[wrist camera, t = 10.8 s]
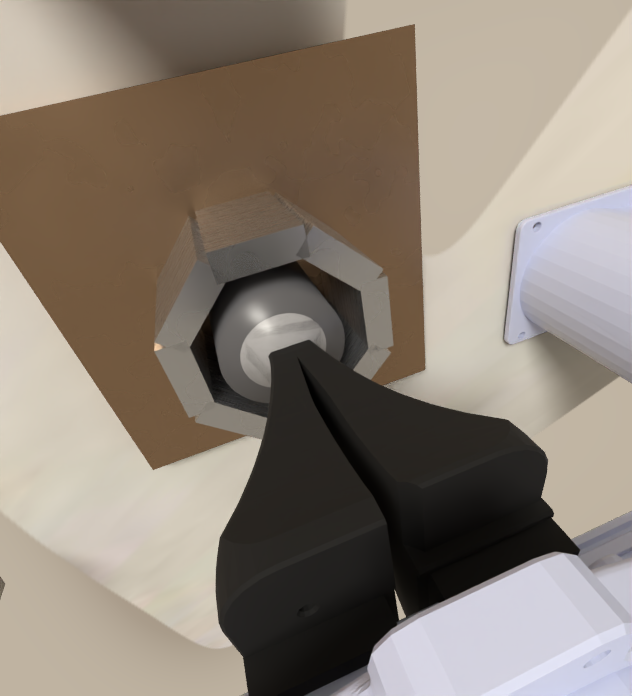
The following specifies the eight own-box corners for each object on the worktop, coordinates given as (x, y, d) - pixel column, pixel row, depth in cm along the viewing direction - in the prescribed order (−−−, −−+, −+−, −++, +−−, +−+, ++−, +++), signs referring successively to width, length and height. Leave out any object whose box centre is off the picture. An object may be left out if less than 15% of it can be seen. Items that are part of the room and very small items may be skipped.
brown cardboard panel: (401, 28, 15) (513, -4, 10) (416, 360, 24) (479, 426, 19) (-58, 129, 13) (-196, 151, 8) (153, 456, 22) (150, 558, 17)
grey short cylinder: (289, 227, 16) (330, 273, 12) (314, 313, 19) (355, 374, 15) (186, 264, 16) (195, 324, 12) (227, 348, 19) (245, 420, 15)
